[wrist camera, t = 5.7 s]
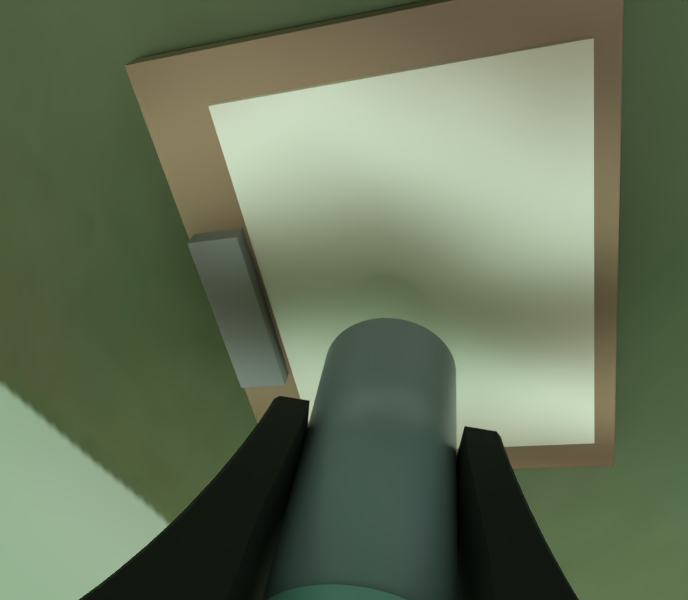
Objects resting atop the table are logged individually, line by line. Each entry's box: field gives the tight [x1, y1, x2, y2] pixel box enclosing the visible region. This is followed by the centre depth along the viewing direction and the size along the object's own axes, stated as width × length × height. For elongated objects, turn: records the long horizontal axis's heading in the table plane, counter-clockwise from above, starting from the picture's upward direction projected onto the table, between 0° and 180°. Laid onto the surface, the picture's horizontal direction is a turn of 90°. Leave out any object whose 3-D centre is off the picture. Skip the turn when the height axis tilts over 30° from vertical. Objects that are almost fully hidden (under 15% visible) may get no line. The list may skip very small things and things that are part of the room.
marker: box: [263, 318, 458, 600], centre depth 11 cm, size 3×3×8 cm
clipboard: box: [125, 0, 624, 469], centre depth 18 cm, size 14×11×1 cm
